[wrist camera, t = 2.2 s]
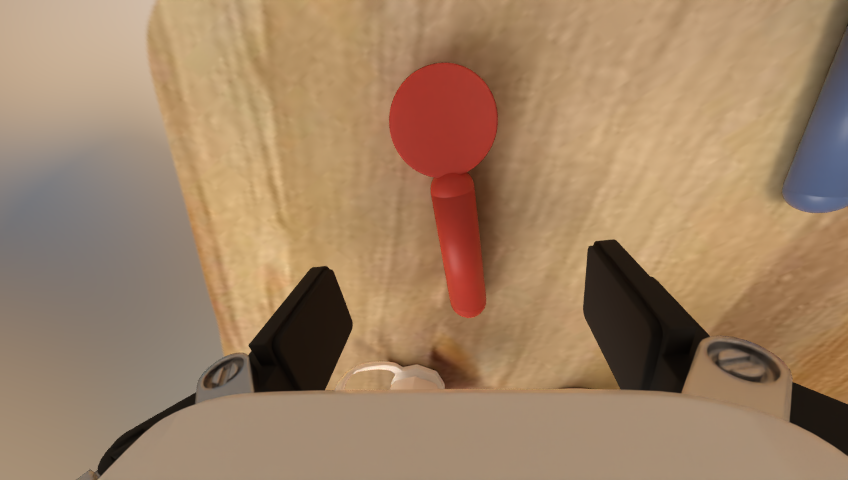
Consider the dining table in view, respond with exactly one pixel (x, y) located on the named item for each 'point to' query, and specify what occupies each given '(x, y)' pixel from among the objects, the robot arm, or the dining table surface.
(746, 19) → the dining table surface
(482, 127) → the red spoon
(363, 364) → the cup
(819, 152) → the blue spoon
